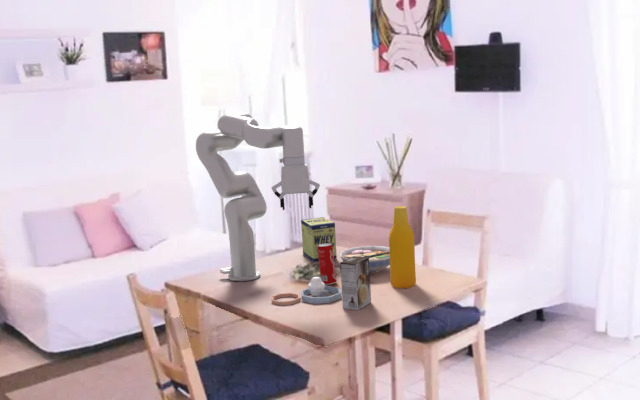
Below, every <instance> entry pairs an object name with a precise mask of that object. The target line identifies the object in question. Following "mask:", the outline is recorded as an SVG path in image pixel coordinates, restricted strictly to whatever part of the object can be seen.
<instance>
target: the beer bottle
mask: <svg viewBox="0 0 640 400" xmlns="http://www.w3.org/2000/svg"><path fill="white" fill-rule="evenodd" d="M388 246H389V253H390V265H389V270H390V271H389V274H390V277H389V278H390V280H389V281H390V282H389V283H390V285H391V286H392V288H395V289H410V288H413V287H415V286H416V284H417V282H416V281H417V278H416V277H417V275H416V257H415V256H416V252H415V234H414V231H413V229H412V228H411V225H410V222H409V216H408V209H407V206H405V205H397V206H394V210H393V224H392V226H391V229H390V232H389V235H388Z"/></svg>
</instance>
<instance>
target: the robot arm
mask: <svg viewBox="0 0 640 400" xmlns="http://www.w3.org/2000/svg"><path fill="white" fill-rule="evenodd" d="M243 141H244V142H246V144H247V145H249V146H251V147H254V148H259V149H273V148H279V147H282V156H283V157H282V158H280V159H278V160H279V163H281V164H283V165H282V166H281V172H280V174H281V175H280V177H281V178H280V182H278V183H276V184H274V185H272V186H271V190H272V192H273V193H274V195H275V196H276V197H277V198H278V199H279V202H280V208H282V211H285V198H284V197H285V196H286V195H294V194H297V195H298V194H307V195H308V207H309V209H312V206H314V197H315V195H316V194H317V193H318V191H319V189H320V186H321V185H320V183H318V182H316V181H315V180H311V179H310V172H309V168H308V164H306V162H305V160H306V159H305V146H304V145H305V144H304V143H305V142H304V130H303V127H301V126H295V125H294V126H293V125H291V126H289V125H283V124H281V125H272V126H266V127H260V125H259V123H258V121H257V120H256V119H254V118H253V116H252V115H251V114H250V113H248V112H244V111H239V112H231V113H226V114H224V115H222V116H220V118H219V119H218V120H217V129H212V130H207V131H204V132H202V133H200V134H199V135H198V136H197V137H196V141H195V151H196V155H197V157H198V159H199V160H200V162H201V164H202V165H203V167H204V168H205V169H206V171H207V173H208V175H209V177H210V179H211V181H212V182H213V185H214V187H215V188H216V191H217V193H218V194H219V195H220V196H219V197H221V198H223V199H229V200H228V202H226V204H225V206H224V211H223V212H224V217H225V220H226V225H227V229H228V239H229V253H230V254H229V255H230V264H231V265H230V266H228V267H226V268H225V267H222V268H221V267H220V270H219V271H220V272H219V273H220V274H223V275H227V274H228V278H227V279H228V280H230V281H233V282H246V281H247V282H249V281H253V280H254V281H255V280H256V279H259V278H260V277H261V272H260V271H258V270H257V267H256V265H257V264H256V252H255V251H256V249H255V240H254V239H255V237H254V231H253V228H252V226H251V225H250V223H249V221H253V220H257V219H259V218H262V217H264V216H265V214H266V212H267V210H268V209H267V208H268V207H267V202H266V200H265V198H264V196H263V194H262V191H261V190H260V188H259V186H258V184H257V182H256V180H255V179H254V176H253V175H252V174H251V173H249V172H248V171H244V170H243V171H242V170H241V171H236V172H235V171H233V170H232V168H231V166H230V164H229V163H228V162H227V160H226V159H225V158H224V157H223V156H221V155H220V154H218V152H223V151H229V150H233V149H236V148H237V147H238V146H240V145H241V144H242V142H243ZM311 185H312V186H314V189H313V190H311ZM279 187H281V192H278V190H277V189H278V188H279ZM240 196H241V197H240ZM231 198H233V199H231Z"/></svg>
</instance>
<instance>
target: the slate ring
mask: <svg viewBox="0 0 640 400" xmlns="http://www.w3.org/2000/svg"><path fill="white" fill-rule="evenodd" d="M324 290H327V291H328V292H329V293H332V294H331V295H329V297H314V296H309V295H310V294H311V292H310V291H309V288H308V287H307V288H305V289H302V290H300V297H301V301H302V302H305V303H309V304H313V305H314V304H330V303H333V302H335V301H338V300H340V299H341V300H342V290H341V288H340V287H336V286H335V287H334V286H333V285H332V286H330V285H325V288H324ZM311 295H312V294H311Z"/></svg>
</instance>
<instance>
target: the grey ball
mask: <svg viewBox="0 0 640 400" xmlns="http://www.w3.org/2000/svg"><path fill="white" fill-rule="evenodd" d="M329 296H330V292H328V291H327V290H322V291H321V292H320V293H319V297H329Z"/></svg>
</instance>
